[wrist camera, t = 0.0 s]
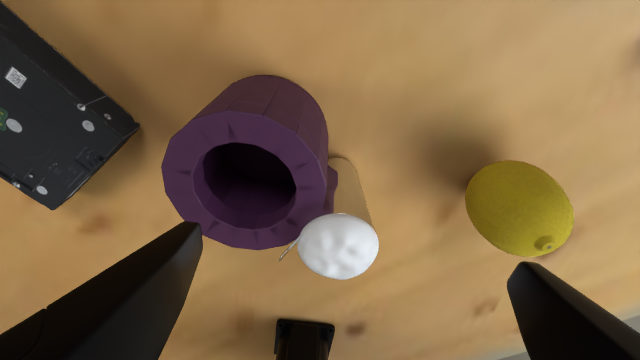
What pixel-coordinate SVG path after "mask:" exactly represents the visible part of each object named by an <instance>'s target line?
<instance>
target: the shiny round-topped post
mask: <svg viewBox="0 0 640 360" xmlns="http://www.w3.org/2000/svg"><path fill="white" fill-rule="evenodd" d="M297 242H298V245H297V247H298V253H299V256H300V258H301V259H302V261H303V262H304V263H305V265H306V266H307V267H308V268H310V269H311V270H312V271H314V272H316V273H318V274H320V275H322V276H325V277H329V278H333V279H349V278H352V277H355V276H357V275H360V274H362V273H363V272H364V271H366V270H367V269H368V268H369V266H370V265H371V264H372V263H373V261H374V260H375V258H376V256H377V253H378V249H379V242H378V237H377V235H376V231H375V229H374V226H373V223H372V220H371V217H370V214H369V211H368V207H367V204H366V200H365V197H364V193H363V190H362V186H361V183H360V179H359V176H358V172H357V170H356V169H355V167H354V166H353V165H352V163H351V162H350V161H348V160H345V159H342V158H340V157H335V158H331V159H328V168H327V190H326V196H325V202H324V208H323V210H322V211H319V212H317V213H315V214H314V215H312V216H311V217H310V218H308V219H307V220H306V222H305V223H304V224H303V226H302V228H301V231H300V235H299V236H298V238H297V239H296V240H295V241H294V242H293V243H292V244H291V245H290V246H289V247H288V249H287V250H286V251H285V252H284V253H283V254H282V255H281V257H280V260H279V261H281V260H282V258H283V257H284V256H285V255H286V254H287V253H288V252H289V251H290V249H291V248H292V247H293V246H294V245H295V244H296V243H297Z"/></svg>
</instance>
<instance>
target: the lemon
mask: <svg viewBox="0 0 640 360" xmlns="http://www.w3.org/2000/svg"><path fill="white" fill-rule="evenodd" d="M465 202H466V209H467V213H468V215H469V217H470V219H471V221H472V223H473V225H474V226H475V228H476V229H477V230H478V232H479V233H480V234H481V235H482V236H483V237H484V238H486V239H487V240H488V241H489V242H490V243H491V244H492V245H494V246H495V247H497V248H498V249H500V250H502V251H504V252H507V253H509V254H512V255H517V256H523V257H532V256H540V255H544V254H547V253H550V252H552V251H554V250H555V249H557V248H558V247H560V246H561V245H562V244H563V243H564V242H565V241H566V240H567V238H568V236H569V235H570V233H571V231H572V227H573V223H574V214H573V208H572V205H571V203H570V201H569V199H568V197H567V196H566V194H565V192H564V190H563V189H562V188H561V186H560V185H559V184H558V183H557V182H556V181H555V180H554V179H553V178H552V177H551V176H549V175H548V174H547V173H546V172H544V171H543V170H541V169H540V168H538V167H535V166H533V165H530V164H528V163H525V162H520V161H511V160H508V161H499V162H496V163H492V164H489V165H487V166H486V167H484V168H482V169H481V170H479V171H478V172H477V173H476V174H475V175H474V176H473V178H472V179H471V180H470V182H469V184H468V186H467V189H466V195H465Z"/></svg>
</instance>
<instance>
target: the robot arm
mask: <svg viewBox="0 0 640 360" xmlns="http://www.w3.org/2000/svg"><path fill="white" fill-rule="evenodd" d="M202 249H203V241H202V231H201V225H200V224H199V223H198V222H190V221H184V222H182V223H180V224H179V225H177V226H175V227H174V228H172V229H170V230H169V231H167V232H166V233H164V234H162V235H161V236H159V237H158V238H156V239H154V240H153V241H151V242H150V243H148V244H146V245H145V246H143V247H142V248H140V249H138V250H137V251H135V252H133V253H132V254H130V255H129V256H127V257H125V258H124V259H122V260H121V261H119V262H117V263H116V264H114V265H113V266H111V267H109V268H108V269H106V270H105V271H103V272H101V273H100V274H98V275H96V276H95V277H93V278H92V279H90V280H88V281H87V282H85V283H84V284H82V285H80V286H79V287H77V288H76V289H74V290H72V291H71V292H69V293H68V294H66V295H64V296H63V297H61V298H59V299H58V300H56V301H55V302H53V303H51V304H50V305H48V306H47V308H46V309H42V310H40V311H38V312H37V313H35V314H33V315H32V316H30V317H29V318H27V319H25V320H24V321H22V322H21V323H19V324H17V325H16V326H14V327H12V328H11V329H9V330H7V331H6V332H4V333H2V334H1V335H0V360H158V358H159V356H160V354H161V352H162V350H163V348H164V346H165V344H166V342H167V339H168V337H169V335H170V333H171V331H172V329H173V327H174V325H175V323H176V321H177V318H178V316H179V314H180V312H181V310H182V307H183V305H184V303H185V300H186V297H187V294H188V291H189V289H190V286H191V283H192V280H193V277H194V274H195V271H196V268H197V265H198V262H199V260H200V257H201V254H202ZM507 290H508V293H509V297H510V300H511V303H512V306H513V310H514V313H515V316H516V319H517V323H518V326H519V329H520V332H521V335H522V338H523V341H524V344H525V347H526V349H527V352H528V354H529V357H530V359H531V360H640V333H638V332H637V331H635V330H634V329H632V328H631V327H629V326H628V325H627V324H625V323H624V322H622V321H621V320H619V319H618V318H617V317H615V316H614V315H612V314H611V313H609V312H608V311H606V310H605V309H603V308H602V307H601V306H599V305H598V304H596V303H595V302H593V301H592V300H590V299H589V298H588V297H586V296H585V295H583V294H582V293H580V292H579V291H577V290H576V289H574V288H573V287H572V286H570V285H569V284H567V283H566V282H564V281H563V280H561V279H560V278H559V277H557V276H556V275H554V274H553V273H551V272H550V271H548V270H547V269H545V268H544V267H543V266H541V265H540V264H538V263H534V262H525V261H523V262H520V263H519V264H518V265H517V267H516V268H515V270H514V271H513V273H512V274H511V276H510V277H509V279H508V281H507ZM334 332H335V327H334V326H333V325H329V324H320V323H311V322H302V321H292V320H283V319H280V320H278V321H277V325H276V336H275V348H274V354H276V360H328V356H329V352H330V348H331V344H332V340H333V336H334Z"/></svg>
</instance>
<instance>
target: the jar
mask: <svg viewBox="0 0 640 360" xmlns="http://www.w3.org/2000/svg"><path fill="white" fill-rule="evenodd" d="M161 168H162V174H163V180H164V186H165V192H166V194H167V196H168V197H169V199H170V201H171V202H172V204H173V205H174V207H175V208H176V210H177V212H178V213H179V215H180V216H181V217H182V218H183V219H184V220H185V221H190V222H198V223H199V224H200V225H201V231H202V235H205V236H206V237H208V238H211V239H213V240H216V241H218V242H220V243H223V244H225V245H228V246H231V247H235V248H244V249H252V250H263V249H268V248H274V247H279V246H284V245H287V244H289V243H291V242H292V241H294V240H296V239H297V238H298V236H299V235H300V231H301V228H302V226H303V224H304V223H305V222H306V220H307V219H308V218H310V217H311V216H312V215H314V214H315V213H317V212H319V211H322V210H323V208H324V202H325V196H326V190H327V168H328V131H327V125H326V121H325V118H324V115H323V113H322V111H321V109H320V107H319V105H318V104H317V102H316V101H315V100H314V98H313V97H312V96H311V95H310V94H309V93H308V92H307V91H305V90H304V89H303V88H302V87H300V86H299V85H297V84H295V83H293V82H291V81H289V80H287V79H284V78H281V77H277V76H272V75H255V76H250V77H246V78H243V79H241V80H238V81H237V82H234V83H232V84H231V85H230V86H229V87H228V88H226V89H225V90H224V91H223V92H222V93H221V94H220V95H219V96H217V97H216V98H215V99H214V100H213V101H212V102H211V103H210V104H209V105H207V106H206V107H205V108H204V109H203V110H202V111H201V112H200V113H198V114H197V115H196V116H195V117H194V118H193V119H192V120H191V121H190V122H188V123H187V124H186V125H185V126H184V127H183V128H182V129H181V130H179V131H178V132H177V133H176V134H175V135H174V136H173V137H172V138H171V140H170V141H169V144H168V147H167V150H166V153H165V156H164V159H163V162H162V166H161Z"/></svg>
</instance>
